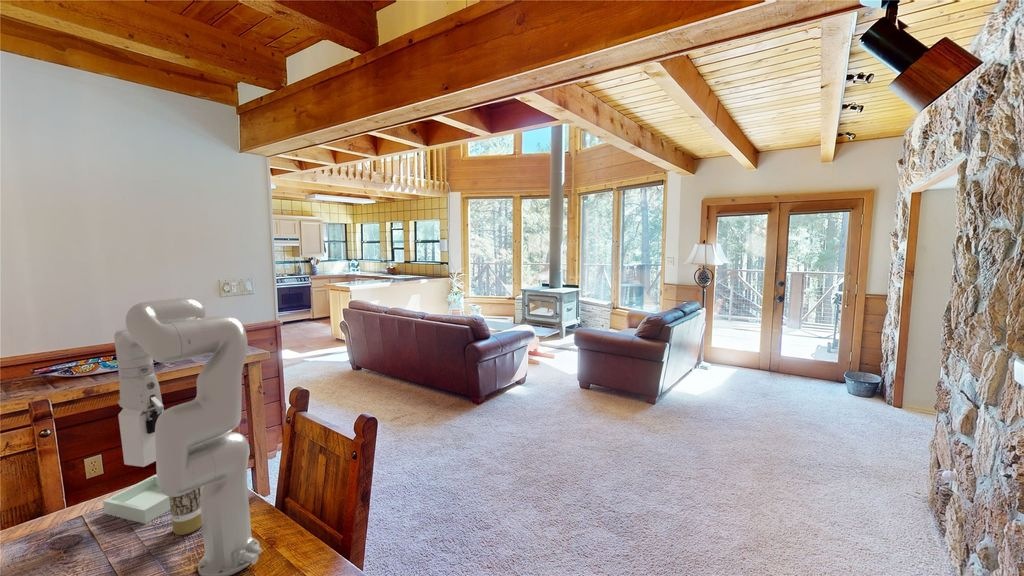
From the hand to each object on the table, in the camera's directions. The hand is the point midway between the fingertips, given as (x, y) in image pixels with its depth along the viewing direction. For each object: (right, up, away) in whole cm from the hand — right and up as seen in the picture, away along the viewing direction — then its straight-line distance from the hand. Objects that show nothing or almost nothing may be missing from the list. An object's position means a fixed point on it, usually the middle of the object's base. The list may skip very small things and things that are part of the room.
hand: (143, 429), depth 123 cm
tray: (0, -23, +3) cm, 23 cm away
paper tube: (+19, -24, -7) cm, 32 cm away
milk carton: (0, -9, +1) cm, 9 cm away
